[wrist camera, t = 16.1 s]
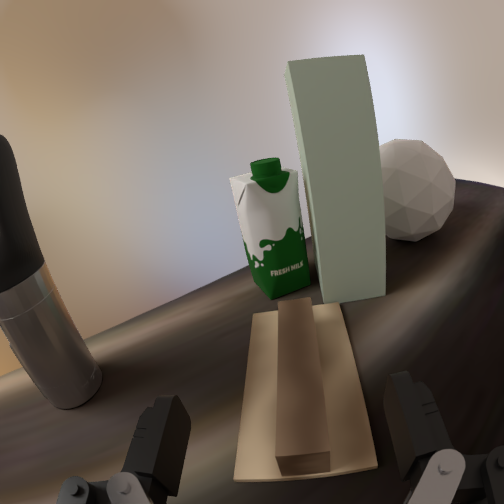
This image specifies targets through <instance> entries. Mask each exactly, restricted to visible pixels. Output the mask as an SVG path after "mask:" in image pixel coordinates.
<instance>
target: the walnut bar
mask: <svg viewBox="0 0 504 504" xmlns="http://www.w3.org/2000/svg"><path fill="white" fill-rule="evenodd" d="M275 458H276V461H277V464H278V467H279V470H280V473H281V476H282V477H283V476H297V475H308V474H318V473H326V472H330V444H329V434H328V424H327V415H326V406H325V397H324V389H323V381H322V373H321V365H320V357H319V350H318V343H317V336H316V329H315V322H314V315H313V309H312V302H311V297H308V298H301V299H293V300H286V301H279V302H278V362H277V411H276V445H275Z"/></svg>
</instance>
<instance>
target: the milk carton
mask: <svg viewBox="0 0 504 504" xmlns="http://www.w3.org/2000/svg"><path fill="white" fill-rule="evenodd" d="M250 165H251V170H252V172H250V173H247V174H242V175H239V176H235V177H231V178H230V183H231V187H232V191H233V196H234V200H235V204H236V209H237V214H238V219H239V223H240V227H241V232H242V237H243V241H244V246H245V250H246V255H247V259H248V263H249V266H250V269H251V272H252V276H253V279H254V282H255V283H256V284H257V285H258V286H259V287H260V288H261V290H262V291H263V292H264V293H265V294H266V295H267V296H268V297H269V298H270V300H272V299H275V298H277V297H280V296H283V295H285V294H288V293H290V292H293V291H295V290H298V289H300V288H303V287H305V286H308V285H310V284H311V282H310V274H309V265H308V258H307V251H306V243H305V236H304V229H303V222H302V215H301V209H300V203H299V193H298V172H297V171H296V170H291V169H286V168H284V167H281V164H280V159H279V158H267V159H261V160H257V161H254V162H252V163H250Z"/></svg>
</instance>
